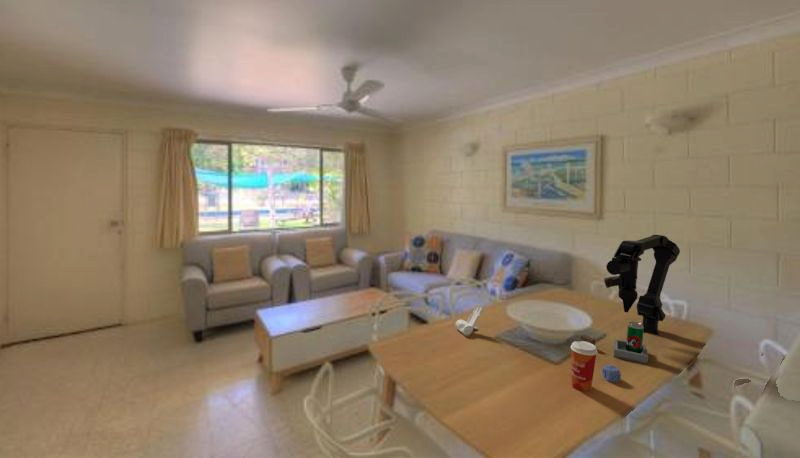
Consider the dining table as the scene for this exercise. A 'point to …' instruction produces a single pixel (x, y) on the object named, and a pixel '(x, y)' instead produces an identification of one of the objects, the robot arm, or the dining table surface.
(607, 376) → the decorative dice
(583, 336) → the brown rectangular block
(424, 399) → the dining table surface
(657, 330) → the robot arm
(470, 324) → the plastic part
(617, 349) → the tray
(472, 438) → the dining table surface
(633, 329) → the soda can
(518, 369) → the dining table surface
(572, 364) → the paper cup
